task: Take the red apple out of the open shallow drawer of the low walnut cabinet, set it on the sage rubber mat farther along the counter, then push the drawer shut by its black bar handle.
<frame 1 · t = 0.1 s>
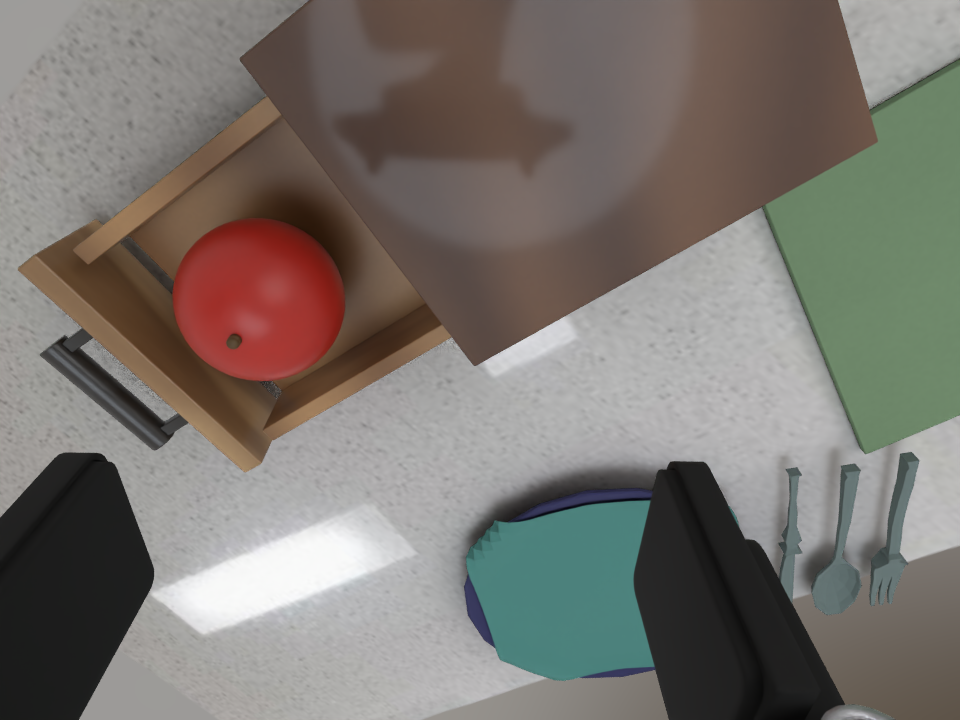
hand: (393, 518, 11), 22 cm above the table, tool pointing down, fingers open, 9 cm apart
cabinet: (550, 80, 27), on the table
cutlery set: (673, 561, 43), on the table, touching mat
drawer: (255, 294, 28), point 3 cm above the table, slide at 12.5 cm, touching apple
apple: (262, 300, 26), point 5 cm above the table, touching drawer
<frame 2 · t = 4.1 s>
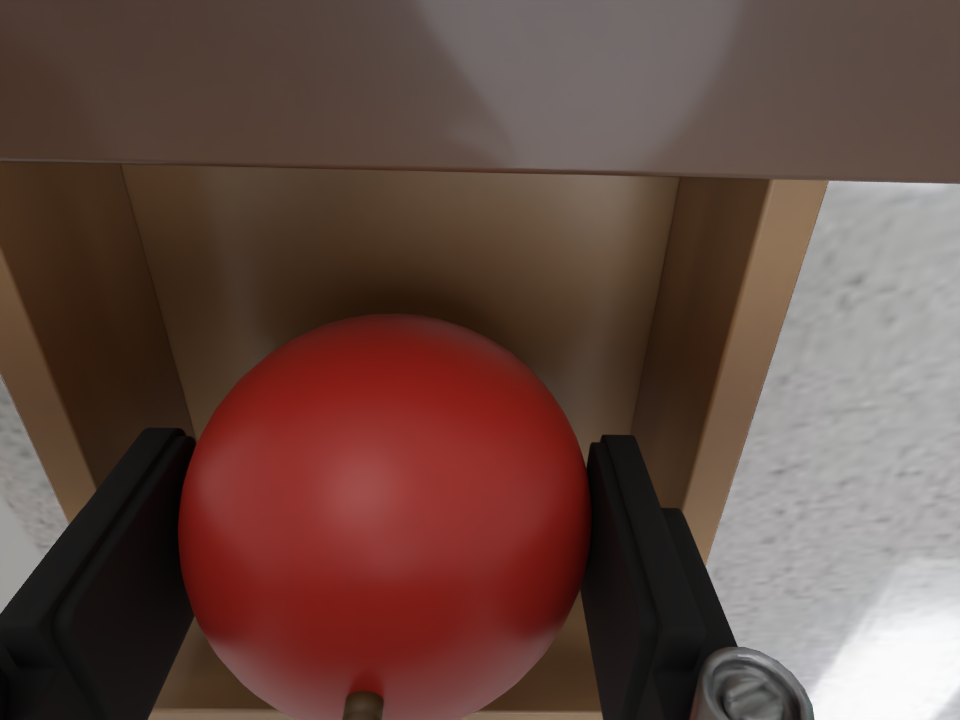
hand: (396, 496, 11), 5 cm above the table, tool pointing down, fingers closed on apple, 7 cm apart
drawer: (408, 480, 13), point 3 cm above the table, slide at 12.5 cm, touching apple
apple: (394, 507, 11), point 6 cm above the table, touching drawer, gripper
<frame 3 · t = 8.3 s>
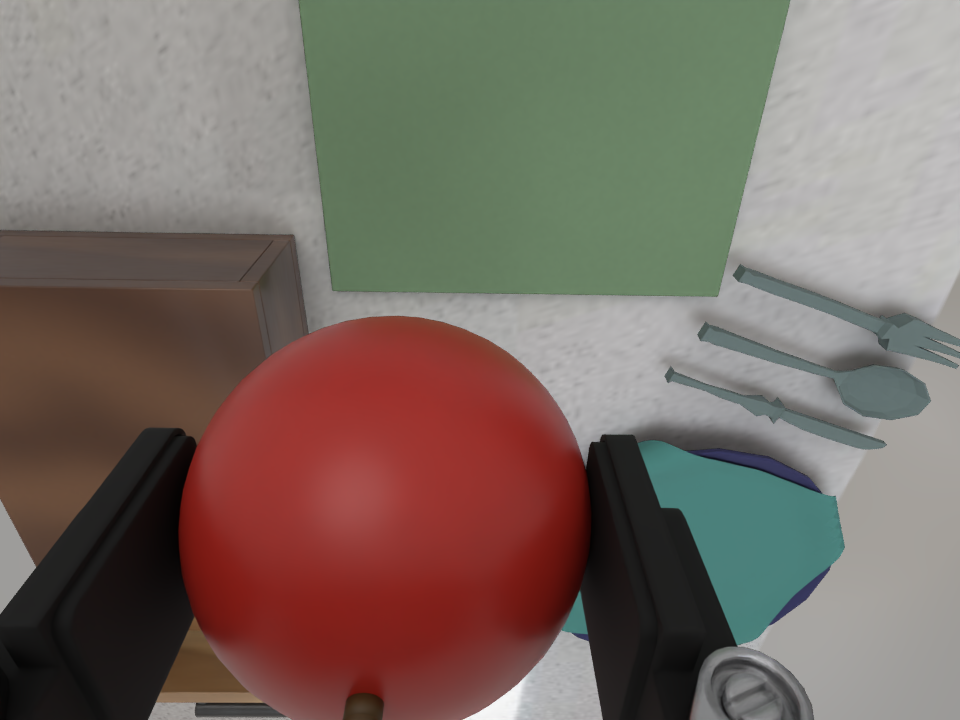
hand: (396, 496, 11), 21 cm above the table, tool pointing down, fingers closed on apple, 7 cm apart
mat: (538, 81, 26), on the table
cabinet: (187, 381, 34), on the table
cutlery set: (713, 491, 39), on the table, touching mat
drawer: (223, 614, 40), point 3 cm above the table, slide at 12.5 cm
apple: (394, 509, 11), point 21 cm above the table, touching gripper
when the fingers open (4 cm above the table, at t = 13.0 s): apple stays where it is, resting on mat.
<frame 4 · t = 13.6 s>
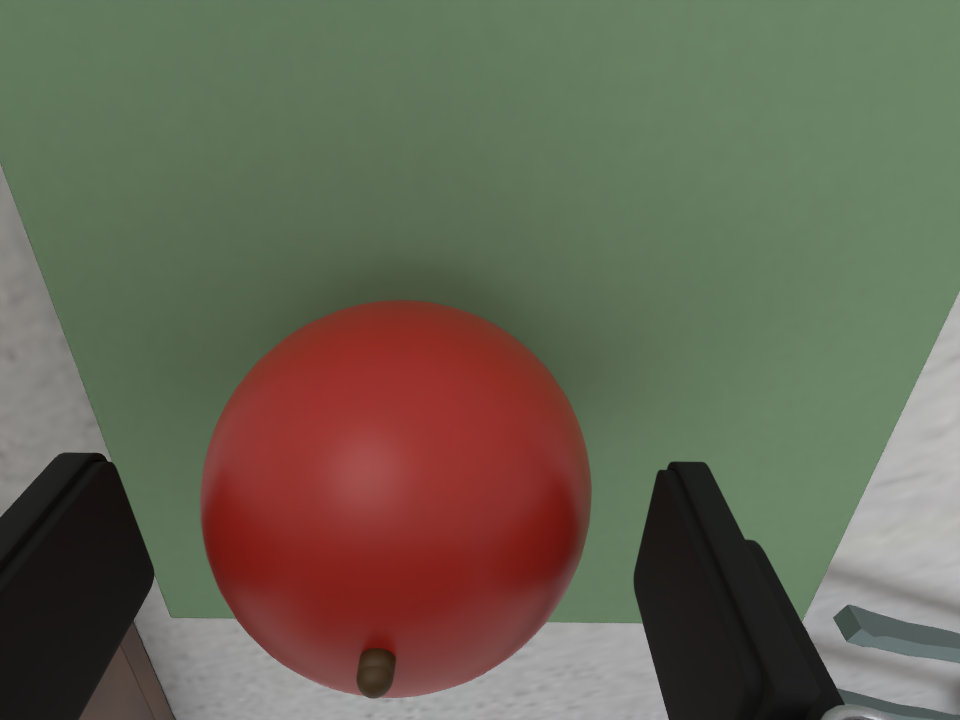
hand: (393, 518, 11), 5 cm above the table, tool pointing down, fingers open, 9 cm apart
mat: (502, 336, 14), on the table
apple: (403, 485, 11), point 4 cm above the table, touching mat
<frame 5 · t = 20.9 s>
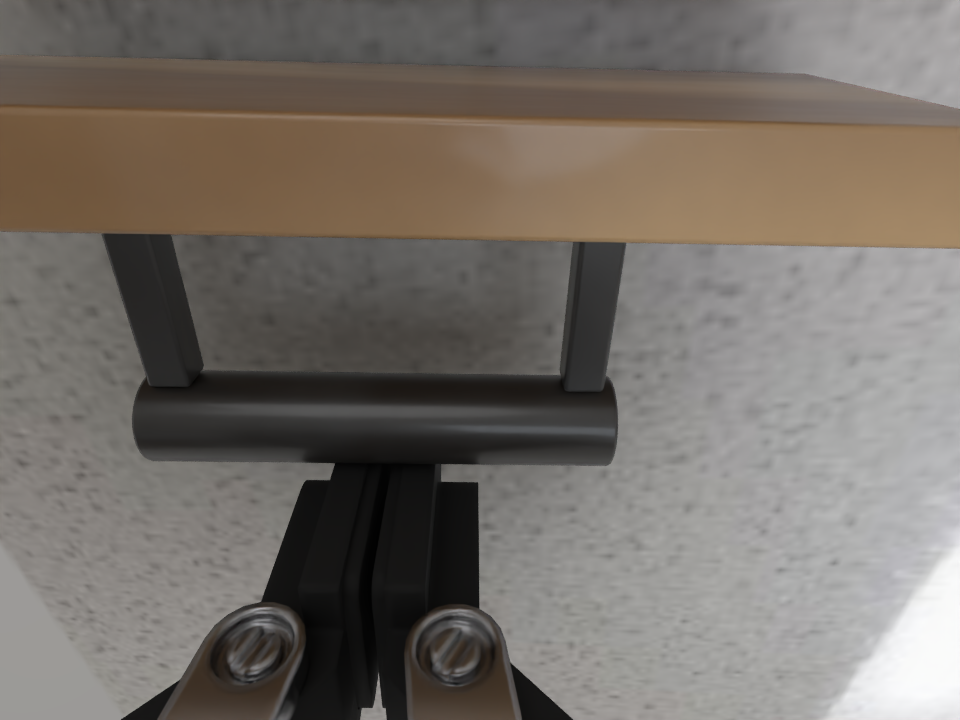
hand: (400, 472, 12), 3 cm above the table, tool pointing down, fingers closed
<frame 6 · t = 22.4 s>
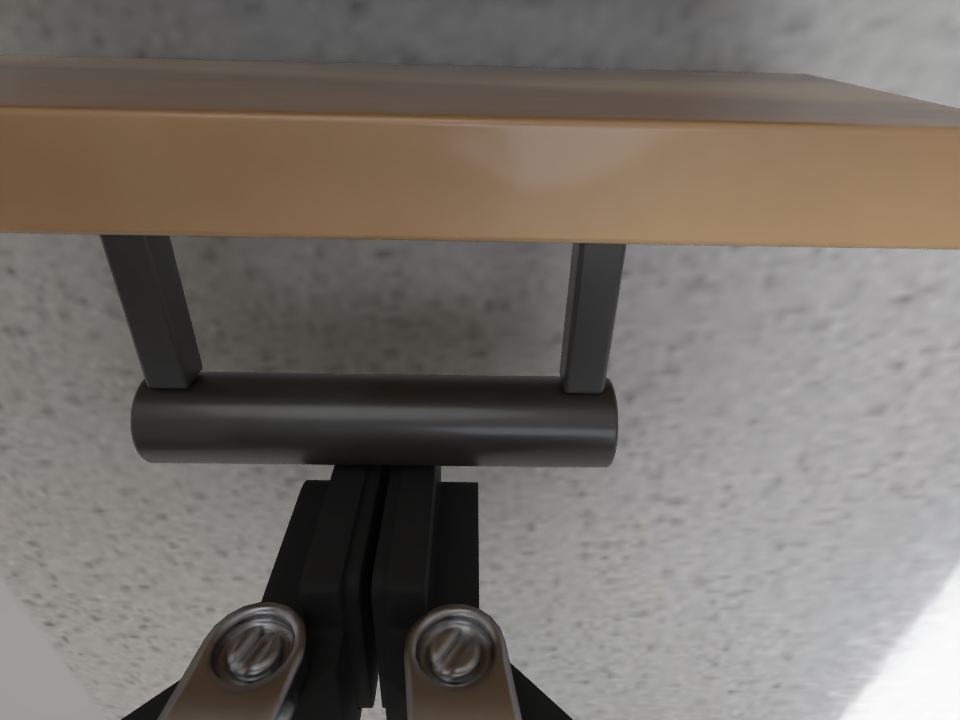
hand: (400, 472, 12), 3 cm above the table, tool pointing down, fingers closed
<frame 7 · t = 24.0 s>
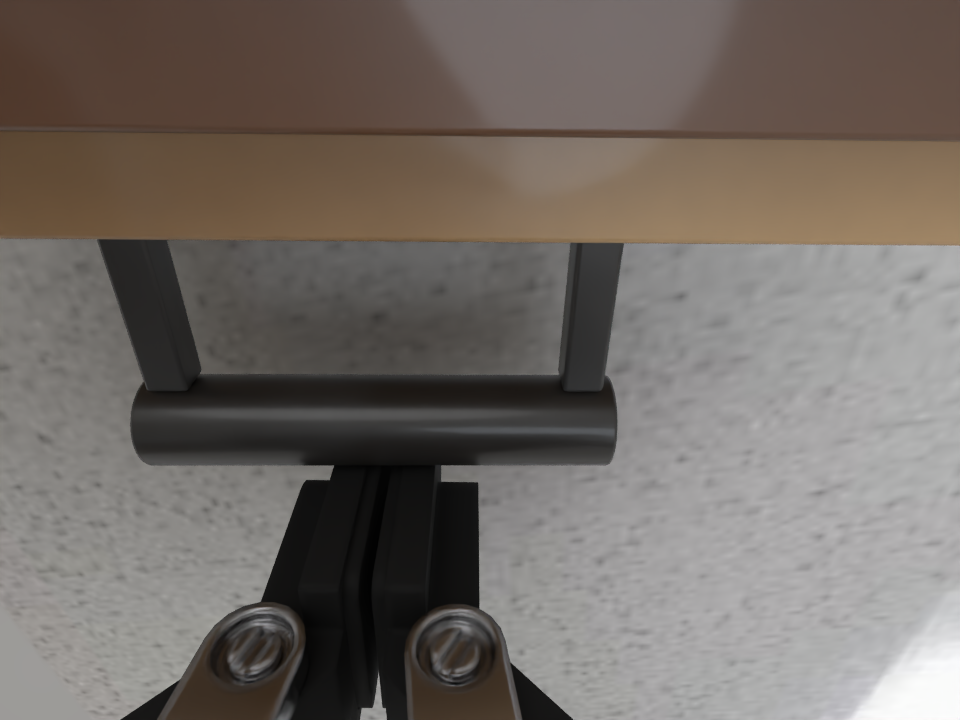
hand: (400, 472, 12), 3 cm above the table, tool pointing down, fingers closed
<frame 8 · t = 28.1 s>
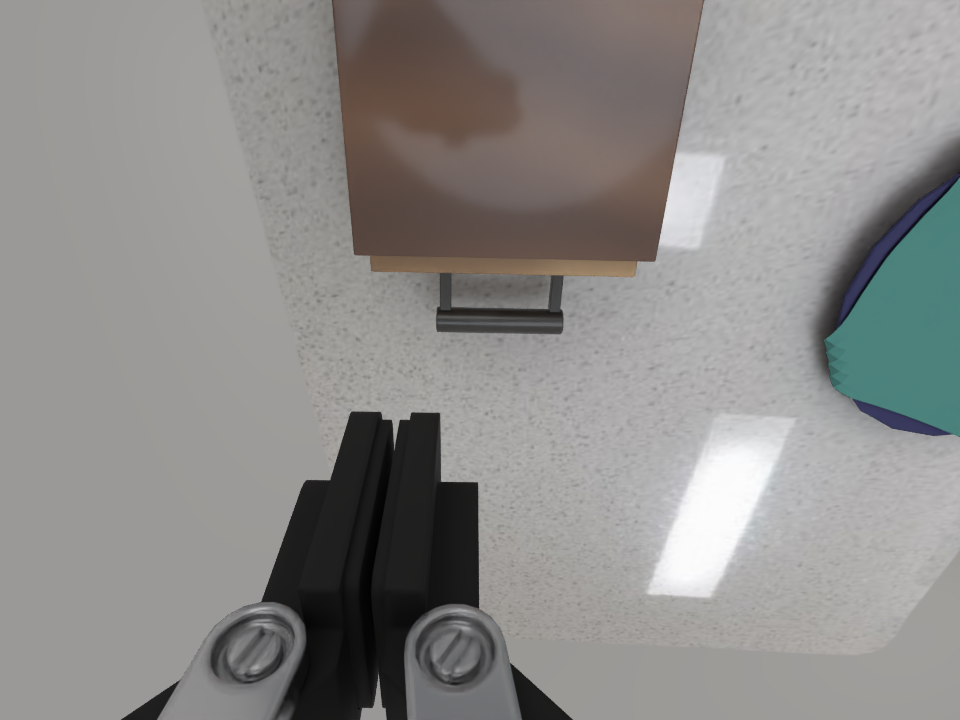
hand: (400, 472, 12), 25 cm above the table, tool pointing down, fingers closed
cabinet: (508, 44, 30), on the table
drawer: (507, 138, 29), point 3 cm above the table, slide at 0.0 cm, touching cabinet
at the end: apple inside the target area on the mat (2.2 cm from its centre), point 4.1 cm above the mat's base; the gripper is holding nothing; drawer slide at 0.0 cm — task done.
